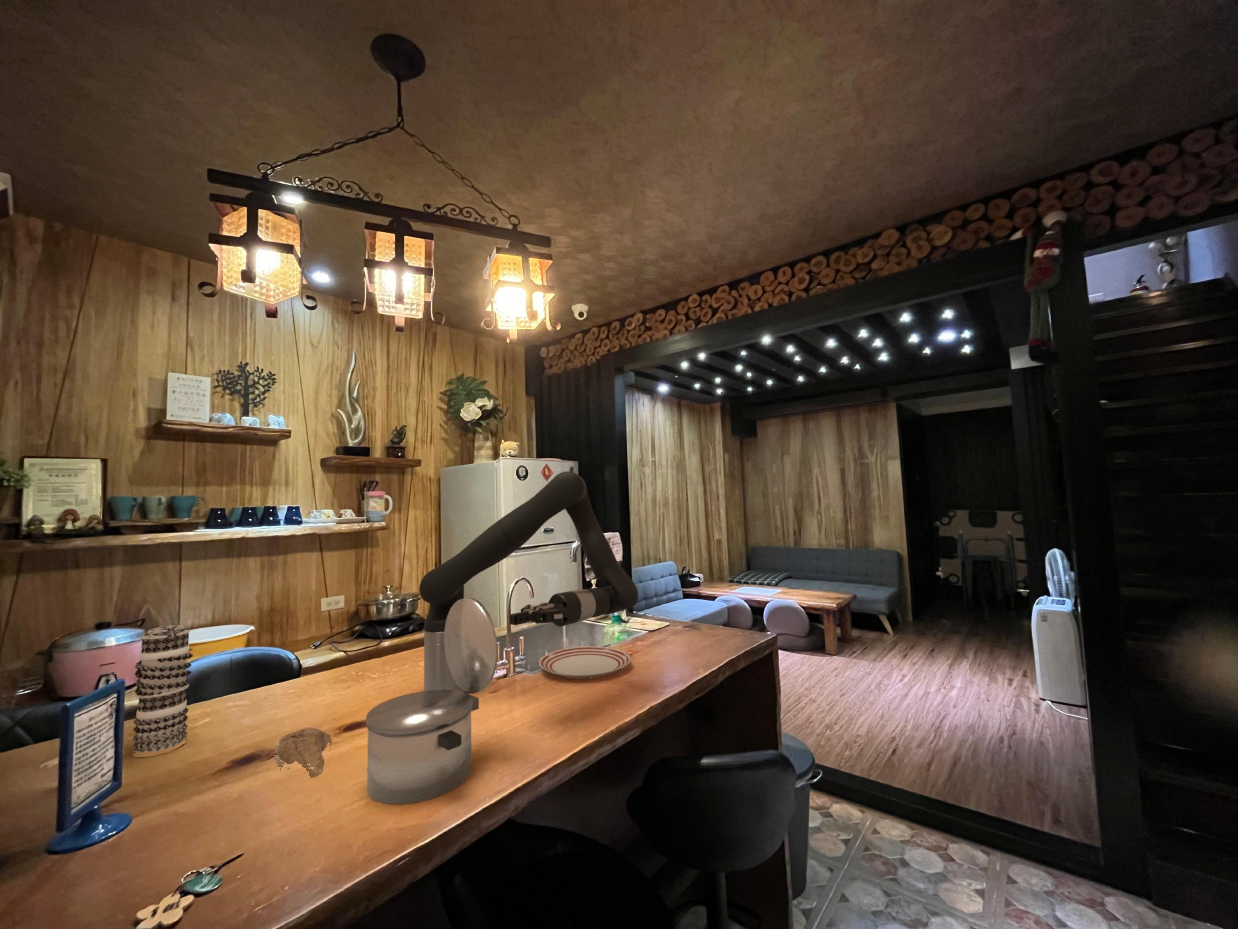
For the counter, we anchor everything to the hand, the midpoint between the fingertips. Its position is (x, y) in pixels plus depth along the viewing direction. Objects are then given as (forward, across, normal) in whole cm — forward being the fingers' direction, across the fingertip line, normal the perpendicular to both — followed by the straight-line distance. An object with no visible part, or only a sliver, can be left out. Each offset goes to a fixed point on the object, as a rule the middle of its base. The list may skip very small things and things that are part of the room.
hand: (511, 620), depth 107 cm
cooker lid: (+11, 0, +3) cm, 11 cm away
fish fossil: (+32, -28, +25) cm, 49 cm away
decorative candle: (+50, -56, +24) cm, 79 cm away
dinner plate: (-42, -22, +24) cm, 53 cm away
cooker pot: (+20, 0, +24) cm, 31 cm away
